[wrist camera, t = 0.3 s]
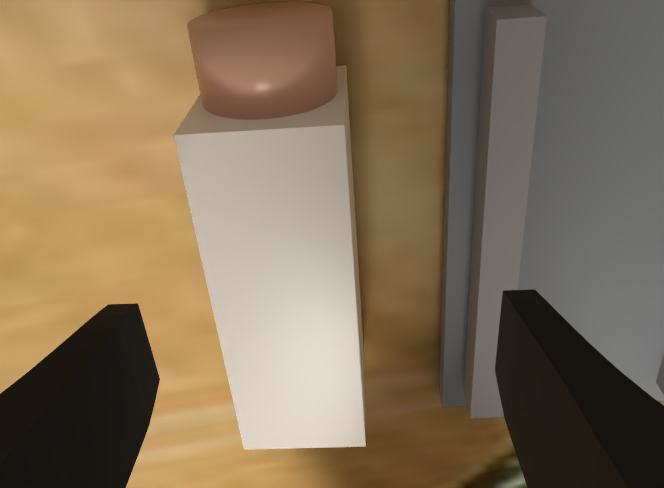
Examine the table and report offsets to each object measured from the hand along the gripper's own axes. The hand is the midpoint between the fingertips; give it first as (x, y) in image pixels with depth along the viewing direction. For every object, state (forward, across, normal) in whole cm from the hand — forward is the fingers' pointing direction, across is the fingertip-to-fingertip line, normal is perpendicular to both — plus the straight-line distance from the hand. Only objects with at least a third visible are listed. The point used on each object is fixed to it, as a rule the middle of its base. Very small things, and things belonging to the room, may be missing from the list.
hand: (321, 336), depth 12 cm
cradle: (+9, -9, +2) cm, 13 cm away
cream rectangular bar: (+9, +1, +2) cm, 9 cm away
